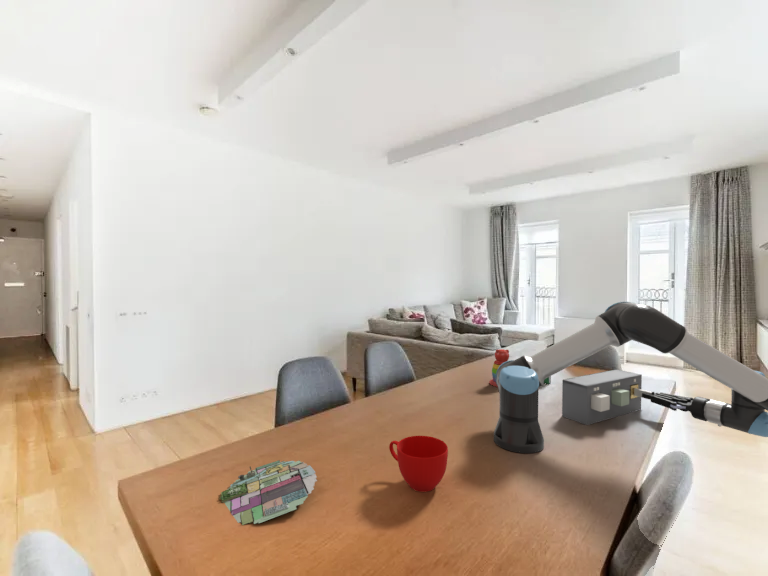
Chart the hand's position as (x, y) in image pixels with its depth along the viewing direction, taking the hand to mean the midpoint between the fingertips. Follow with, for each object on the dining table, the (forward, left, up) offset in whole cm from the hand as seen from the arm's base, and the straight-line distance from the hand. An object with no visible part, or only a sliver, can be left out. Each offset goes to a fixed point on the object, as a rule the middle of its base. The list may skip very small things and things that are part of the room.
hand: (635, 391), depth 148 cm
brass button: (+2, +3, -3) cm, 4 cm away
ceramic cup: (-91, +49, -8) cm, 104 cm away
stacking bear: (+9, +54, -8) cm, 56 cm away
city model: (-115, +77, -9) cm, 139 cm away
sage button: (-10, +6, -3) cm, 12 cm away
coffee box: (+25, +38, -8) cm, 47 cm away
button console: (-8, +11, -8) cm, 15 cm away
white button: (-21, +12, -3) cm, 24 cm away
